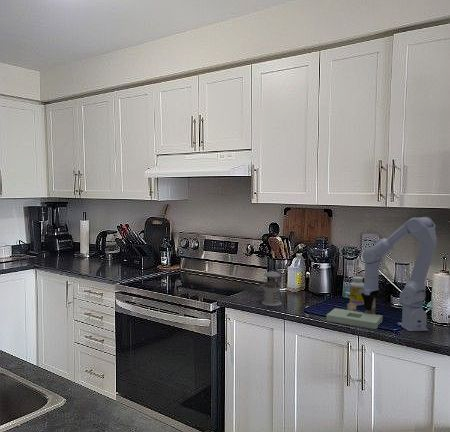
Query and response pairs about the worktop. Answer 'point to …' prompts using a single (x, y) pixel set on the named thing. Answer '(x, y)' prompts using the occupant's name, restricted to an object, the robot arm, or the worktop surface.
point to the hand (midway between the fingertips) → (370, 308)
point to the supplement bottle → (356, 291)
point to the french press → (272, 288)
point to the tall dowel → (372, 308)
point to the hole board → (354, 318)
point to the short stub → (351, 306)
